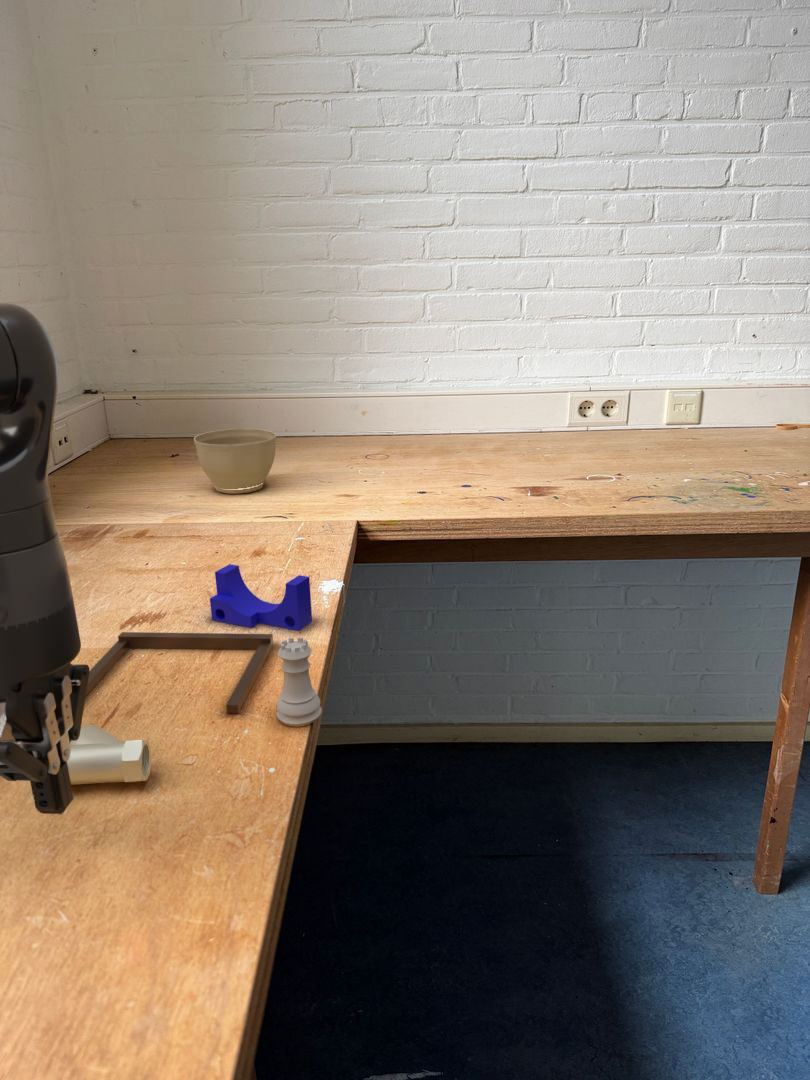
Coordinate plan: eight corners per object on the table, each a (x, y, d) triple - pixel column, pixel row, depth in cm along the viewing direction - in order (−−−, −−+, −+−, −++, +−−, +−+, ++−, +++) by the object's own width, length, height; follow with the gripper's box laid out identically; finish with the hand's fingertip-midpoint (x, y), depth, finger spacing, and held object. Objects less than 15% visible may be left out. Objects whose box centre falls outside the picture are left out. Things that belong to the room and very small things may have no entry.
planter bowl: (219, 504, 152) (213, 447, 148) (187, 487, 164) (181, 435, 161) (294, 489, 160) (290, 436, 157) (258, 474, 173) (254, 425, 169)
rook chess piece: (331, 712, 79) (327, 639, 77) (301, 733, 76) (296, 657, 73) (297, 700, 82) (292, 628, 79) (267, 719, 78) (260, 646, 76)
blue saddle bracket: (212, 620, 101) (207, 576, 99) (233, 607, 105) (229, 564, 103) (292, 635, 96) (289, 589, 94) (312, 621, 100) (309, 576, 98)
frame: (62, 710, 81) (60, 696, 80) (123, 643, 95) (121, 631, 95) (238, 713, 79) (237, 700, 79) (273, 645, 94) (272, 633, 93)
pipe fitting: (73, 756, 74) (46, 797, 67) (68, 717, 73) (40, 755, 66) (161, 751, 74) (143, 791, 68) (157, 712, 73) (138, 749, 67)
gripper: (14, 567, 63) (51, 757, 68) (-100, 641, 50) (-43, 867, 56) (106, 567, 62) (136, 759, 67) (15, 642, 49) (61, 870, 55)
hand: (55, 807), depth 61 cm, fingers closed
